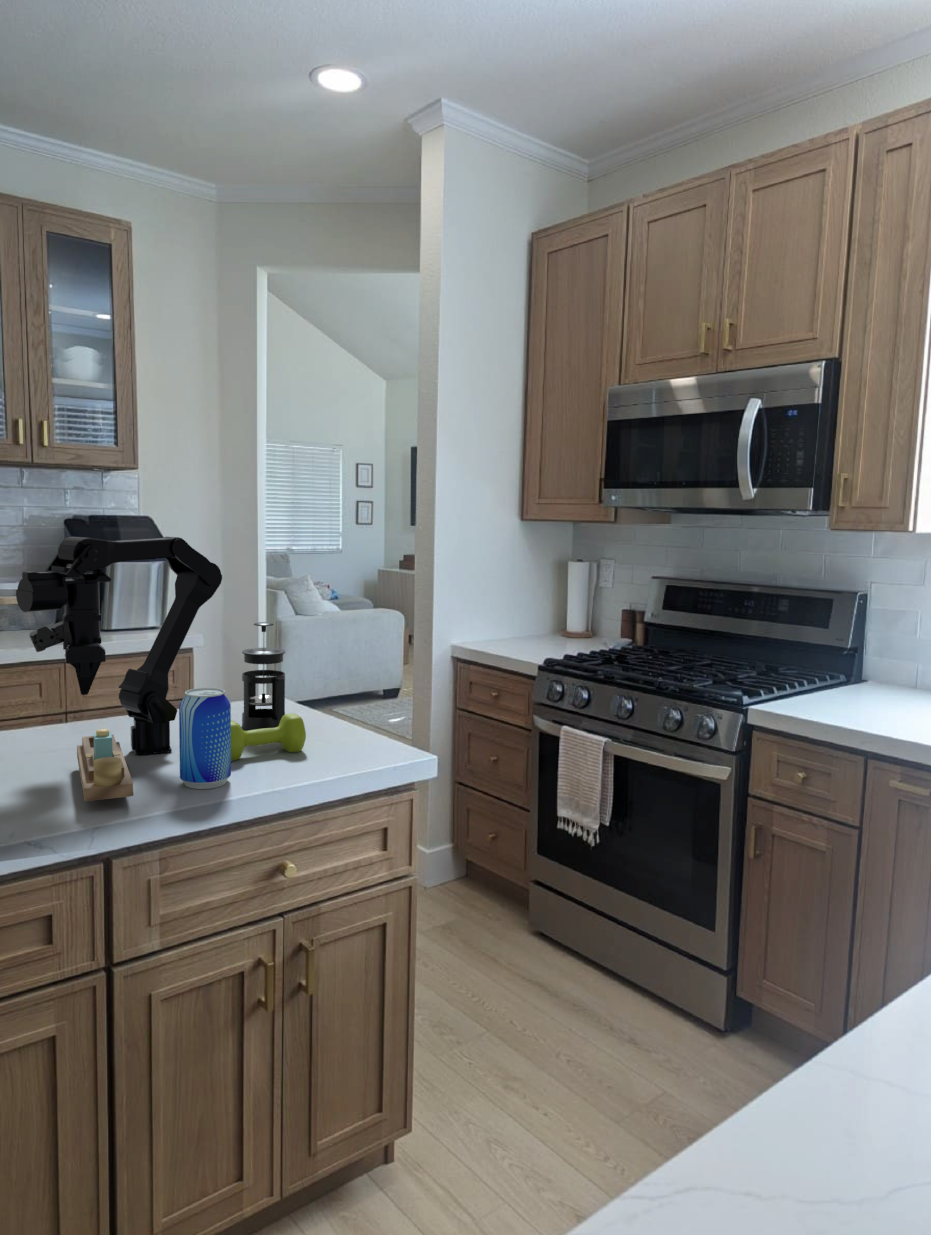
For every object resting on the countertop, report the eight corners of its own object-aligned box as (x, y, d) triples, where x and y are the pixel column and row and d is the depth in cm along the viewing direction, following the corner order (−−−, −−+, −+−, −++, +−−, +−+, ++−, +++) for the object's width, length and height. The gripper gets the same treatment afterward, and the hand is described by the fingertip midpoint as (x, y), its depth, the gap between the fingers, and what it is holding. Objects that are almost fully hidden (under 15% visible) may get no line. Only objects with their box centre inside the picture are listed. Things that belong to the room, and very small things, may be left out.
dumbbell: (225, 765, 160) (225, 727, 160) (212, 754, 167) (212, 718, 166) (309, 754, 169) (309, 718, 168) (294, 744, 176) (294, 709, 175)
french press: (230, 727, 188) (230, 621, 185) (267, 720, 195) (267, 618, 192) (262, 737, 180) (262, 627, 177) (299, 730, 187) (300, 624, 184)
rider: (110, 760, 147) (110, 727, 147) (112, 767, 144) (112, 732, 143) (94, 762, 146) (93, 728, 145) (95, 768, 143) (94, 734, 142)
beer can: (203, 793, 144) (202, 699, 142) (169, 784, 149) (168, 692, 147) (241, 781, 151) (241, 691, 149) (207, 772, 156) (207, 684, 154)
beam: (119, 763, 159) (118, 723, 159) (133, 808, 136) (132, 761, 135) (77, 767, 156) (76, 726, 155) (84, 813, 133) (83, 766, 132)
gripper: (31, 603, 159) (34, 687, 161) (31, 615, 143) (34, 708, 144) (97, 602, 164) (99, 683, 166) (104, 613, 147) (106, 704, 149)
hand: (84, 694), depth 156 cm, fingers closed
